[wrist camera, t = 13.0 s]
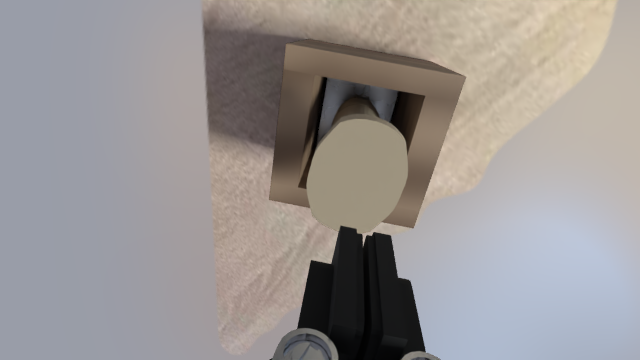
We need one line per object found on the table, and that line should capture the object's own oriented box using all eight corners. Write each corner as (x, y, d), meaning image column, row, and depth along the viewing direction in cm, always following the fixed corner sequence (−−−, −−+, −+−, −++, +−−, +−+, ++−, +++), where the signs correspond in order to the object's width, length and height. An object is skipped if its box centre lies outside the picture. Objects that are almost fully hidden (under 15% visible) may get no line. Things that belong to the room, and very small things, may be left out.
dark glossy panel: (330, 64, 29) (329, 65, 29) (400, 77, 29) (401, 79, 28) (317, 141, 33) (316, 144, 32) (380, 153, 32) (380, 157, 32)
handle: (322, 137, 31) (296, 219, 18) (341, 70, 29) (326, 107, 15) (370, 151, 31) (380, 243, 18) (393, 85, 29) (426, 135, 15)
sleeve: (308, 39, 29) (286, 43, 20) (431, 61, 28) (466, 76, 19) (292, 153, 33) (268, 199, 24) (398, 174, 33) (413, 228, 24)
